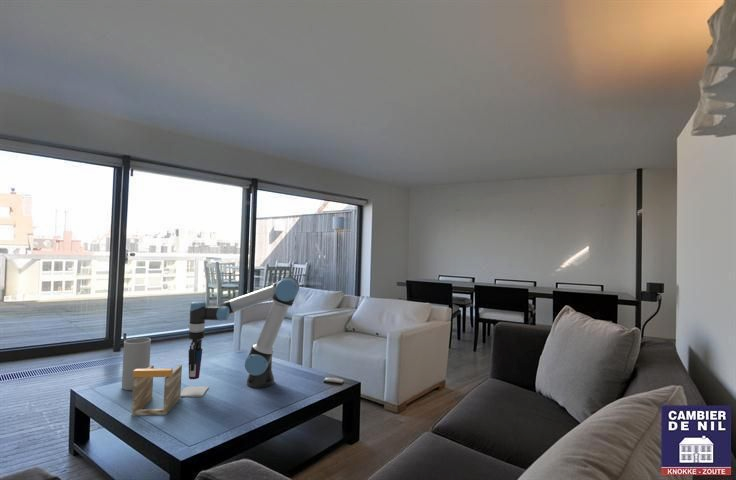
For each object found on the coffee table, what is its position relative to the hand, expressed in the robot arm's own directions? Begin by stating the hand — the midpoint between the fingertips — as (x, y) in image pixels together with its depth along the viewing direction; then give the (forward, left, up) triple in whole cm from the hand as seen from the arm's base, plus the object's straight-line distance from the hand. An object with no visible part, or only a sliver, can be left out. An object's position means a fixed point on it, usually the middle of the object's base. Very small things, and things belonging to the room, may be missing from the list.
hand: (194, 374), depth 202 cm
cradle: (+12, +17, -10) cm, 22 cm away
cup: (0, 0, -2) cm, 2 cm away
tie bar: (+12, +24, +7) cm, 28 cm away
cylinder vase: (+33, -10, -10) cm, 36 cm away
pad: (0, 0, -10) cm, 10 cm away
